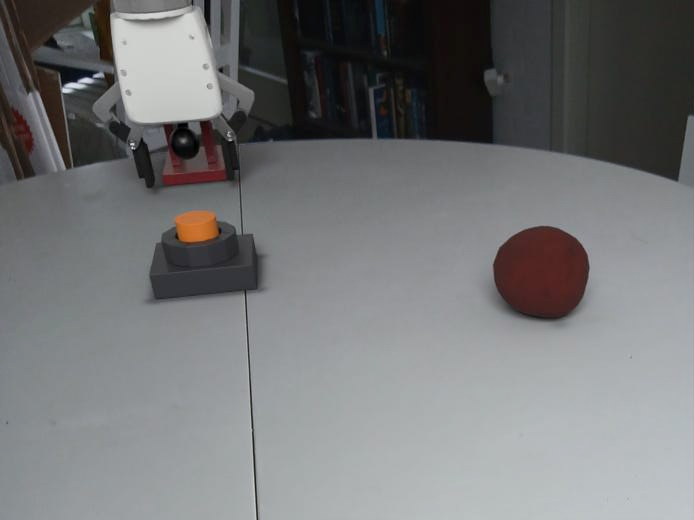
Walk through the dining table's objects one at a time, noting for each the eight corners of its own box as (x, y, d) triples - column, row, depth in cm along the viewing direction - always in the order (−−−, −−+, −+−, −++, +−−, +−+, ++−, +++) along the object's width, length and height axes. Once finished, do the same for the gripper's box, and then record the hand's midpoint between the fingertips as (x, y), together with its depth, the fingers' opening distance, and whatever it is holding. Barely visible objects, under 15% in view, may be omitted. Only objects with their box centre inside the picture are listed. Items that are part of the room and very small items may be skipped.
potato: (528, 284, 87) (528, 202, 82) (605, 309, 83) (609, 224, 78) (471, 312, 83) (467, 227, 79) (548, 339, 79) (549, 251, 74)
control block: (155, 299, 88) (143, 254, 85) (161, 266, 94) (151, 222, 91) (257, 288, 89) (248, 244, 86) (257, 256, 95) (249, 213, 92)
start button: (177, 246, 87) (172, 226, 86) (180, 232, 90) (175, 212, 89) (218, 242, 88) (214, 222, 86) (220, 228, 90) (215, 208, 89)
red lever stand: (226, 180, 113) (203, 63, 105) (164, 185, 112) (136, 68, 104) (228, 154, 120) (207, 43, 112) (170, 160, 119) (144, 48, 112)
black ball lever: (204, 164, 109) (197, 144, 106) (174, 167, 109) (167, 146, 105) (193, 73, 111) (187, 50, 108) (165, 76, 111) (157, 53, 108)
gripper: (240, -17, 102) (270, 164, 113) (67, -5, 100) (115, 177, 112) (239, -4, 96) (270, 184, 108) (55, 8, 94) (107, 198, 106)
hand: (191, 180), depth 110 cm, fingers open, 8 cm apart
